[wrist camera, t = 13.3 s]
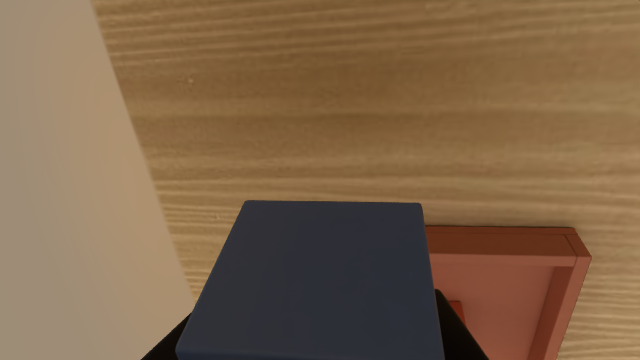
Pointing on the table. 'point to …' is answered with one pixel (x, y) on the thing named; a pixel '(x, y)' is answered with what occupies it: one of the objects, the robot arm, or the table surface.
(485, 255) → the terracotta tray
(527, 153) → the table surface
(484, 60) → the table surface
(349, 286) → the slate block
